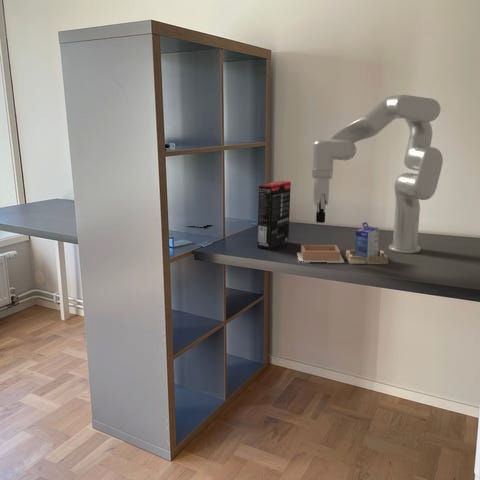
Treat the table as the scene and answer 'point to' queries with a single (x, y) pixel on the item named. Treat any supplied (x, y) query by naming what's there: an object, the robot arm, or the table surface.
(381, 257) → the beige rectangular frame
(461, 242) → the table surface
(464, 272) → the table surface
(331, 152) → the robot arm
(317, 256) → the tray
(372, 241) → the ink cartridge box
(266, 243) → the graphics card box
